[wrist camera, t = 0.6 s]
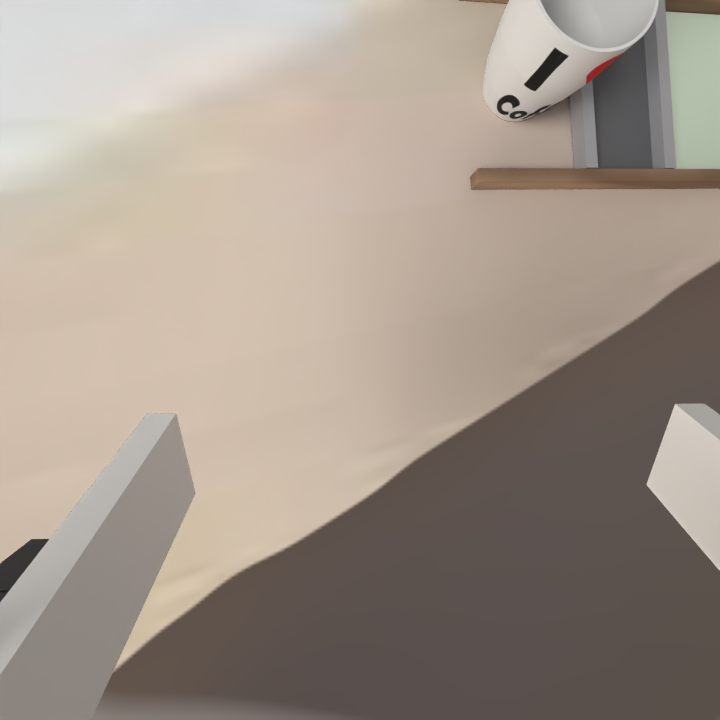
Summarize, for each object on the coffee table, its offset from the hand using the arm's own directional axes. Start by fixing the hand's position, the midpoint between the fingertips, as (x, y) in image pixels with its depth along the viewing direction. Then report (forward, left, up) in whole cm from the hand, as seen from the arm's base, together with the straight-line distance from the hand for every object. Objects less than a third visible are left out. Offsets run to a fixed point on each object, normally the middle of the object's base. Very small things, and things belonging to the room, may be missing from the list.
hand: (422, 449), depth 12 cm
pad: (-23, +33, -21) cm, 46 cm away
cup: (-24, +15, -21) cm, 35 cm away
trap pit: (-23, +24, -21) cm, 40 cm away
